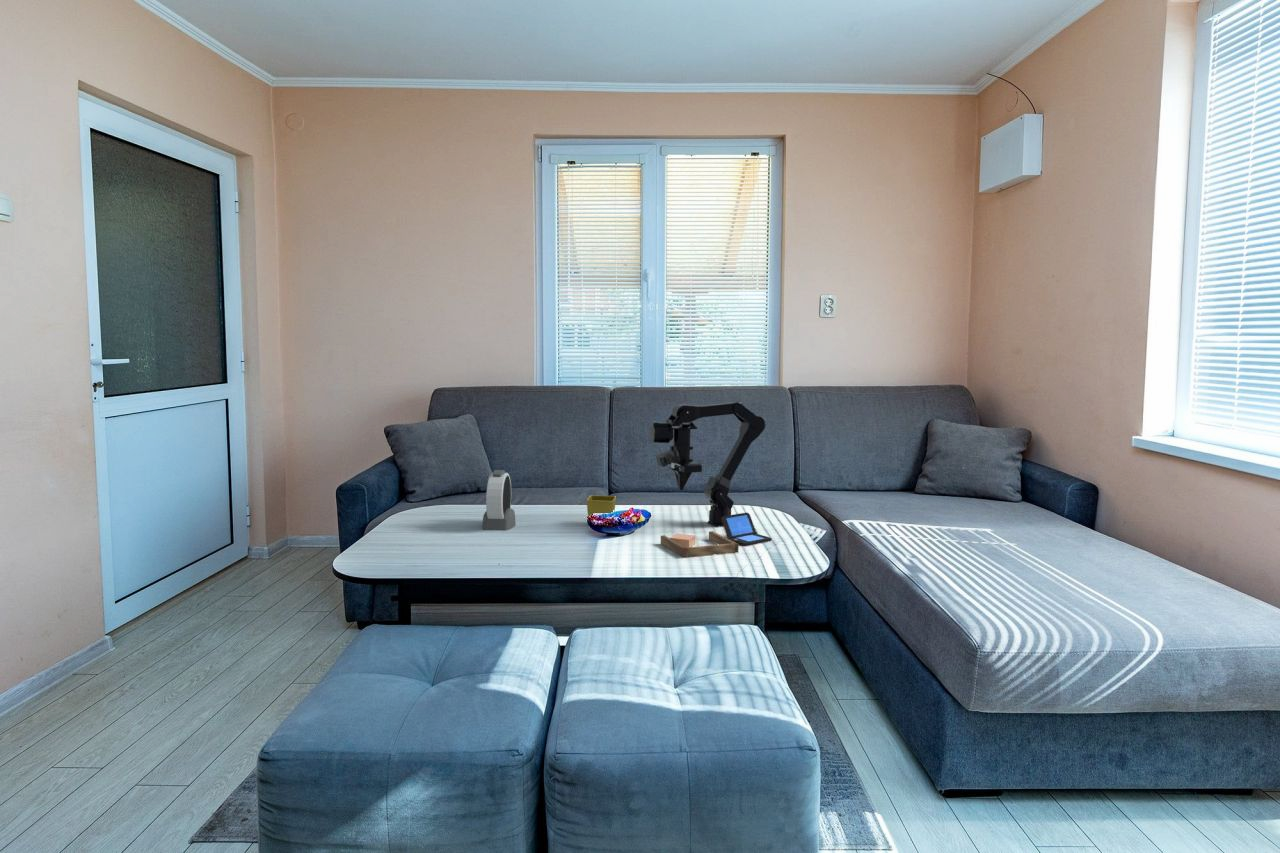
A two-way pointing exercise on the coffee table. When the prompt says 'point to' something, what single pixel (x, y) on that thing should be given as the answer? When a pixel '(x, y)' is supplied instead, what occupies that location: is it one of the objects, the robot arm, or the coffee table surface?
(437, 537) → the coffee table surface
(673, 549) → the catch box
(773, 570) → the coffee table surface
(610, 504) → the flower pot
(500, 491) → the grey ring on stand
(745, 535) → the handheld game console
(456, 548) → the coffee table surface
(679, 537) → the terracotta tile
